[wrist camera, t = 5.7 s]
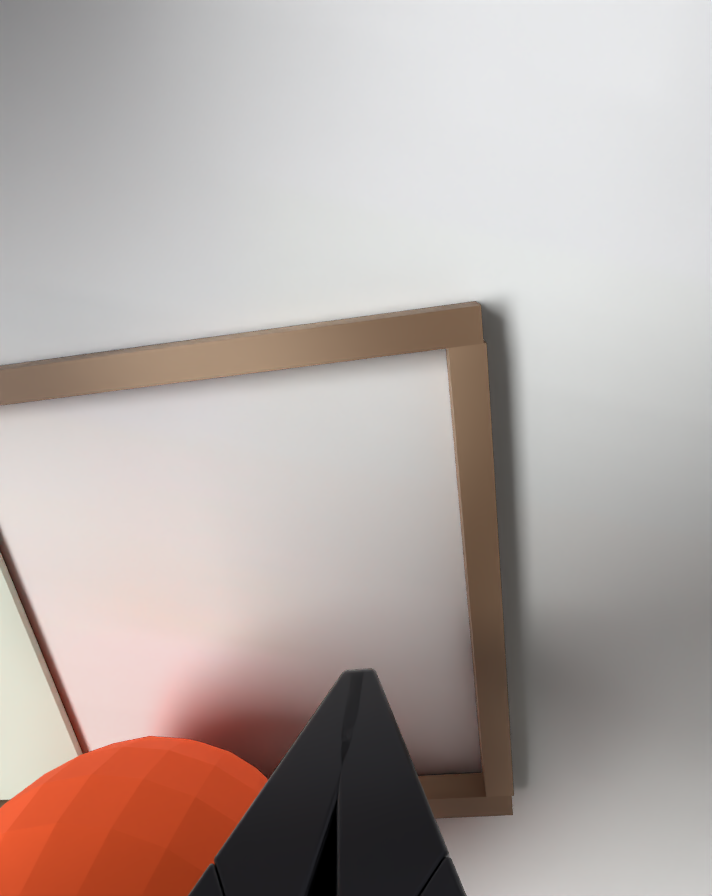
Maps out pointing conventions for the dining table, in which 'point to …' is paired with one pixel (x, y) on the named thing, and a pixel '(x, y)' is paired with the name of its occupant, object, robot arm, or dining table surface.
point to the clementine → (125, 820)
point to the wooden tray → (450, 326)
